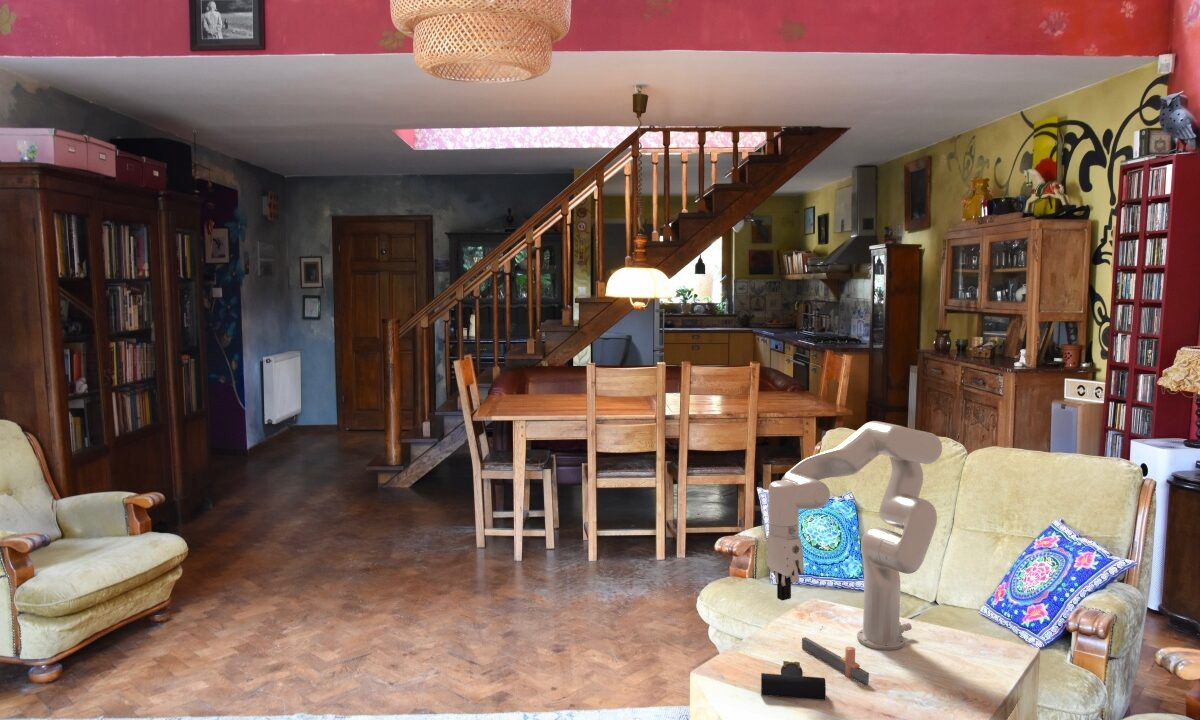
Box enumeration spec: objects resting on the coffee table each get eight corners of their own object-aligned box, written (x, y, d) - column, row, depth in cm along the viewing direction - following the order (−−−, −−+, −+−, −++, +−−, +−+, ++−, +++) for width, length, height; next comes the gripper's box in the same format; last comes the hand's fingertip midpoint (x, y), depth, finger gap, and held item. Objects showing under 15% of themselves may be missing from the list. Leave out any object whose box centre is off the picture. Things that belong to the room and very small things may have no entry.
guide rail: (807, 647, 233) (807, 622, 232) (870, 684, 211) (871, 656, 211) (800, 648, 232) (800, 624, 231) (863, 686, 210) (863, 658, 210)
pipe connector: (761, 656, 216) (822, 661, 213) (761, 676, 216) (821, 681, 213) (761, 678, 204) (825, 683, 202) (761, 699, 205) (825, 704, 202)
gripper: (814, 534, 213) (814, 605, 215) (777, 520, 227) (777, 586, 229) (790, 539, 210) (790, 611, 212) (754, 524, 223) (754, 592, 225)
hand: (784, 598), depth 220 cm, fingers closed
